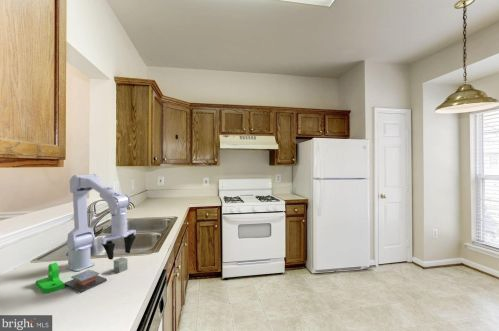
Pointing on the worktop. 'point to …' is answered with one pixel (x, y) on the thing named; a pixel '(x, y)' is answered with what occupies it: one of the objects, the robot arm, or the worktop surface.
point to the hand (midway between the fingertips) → (119, 255)
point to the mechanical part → (51, 280)
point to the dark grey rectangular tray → (85, 281)
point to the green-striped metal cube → (120, 265)
